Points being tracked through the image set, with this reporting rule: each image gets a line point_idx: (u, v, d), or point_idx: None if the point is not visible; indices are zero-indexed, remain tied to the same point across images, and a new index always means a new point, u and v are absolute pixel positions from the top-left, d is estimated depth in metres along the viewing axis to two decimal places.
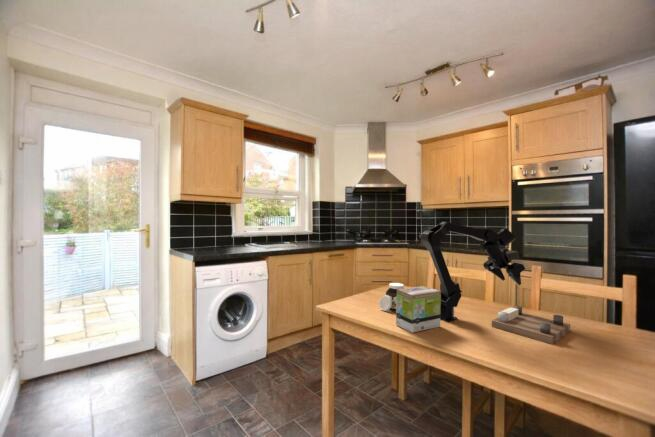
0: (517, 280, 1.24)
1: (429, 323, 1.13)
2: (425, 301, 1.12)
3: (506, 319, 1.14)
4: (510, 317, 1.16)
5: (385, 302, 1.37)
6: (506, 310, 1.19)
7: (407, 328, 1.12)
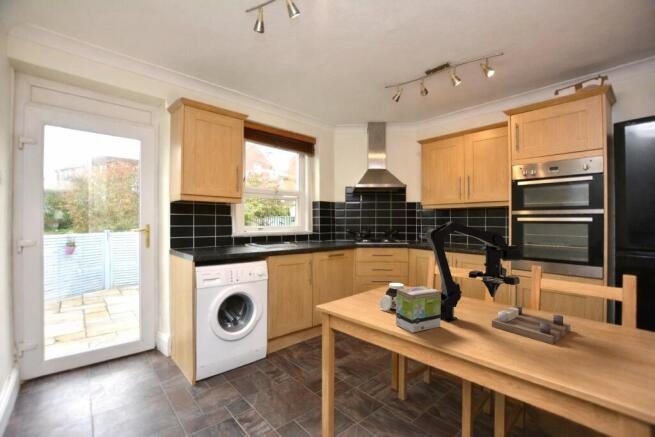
0: (495, 291, 1.24)
1: (429, 323, 1.13)
2: (425, 301, 1.12)
3: (506, 319, 1.14)
4: (510, 317, 1.16)
5: (385, 302, 1.37)
6: (506, 310, 1.19)
7: (407, 328, 1.12)
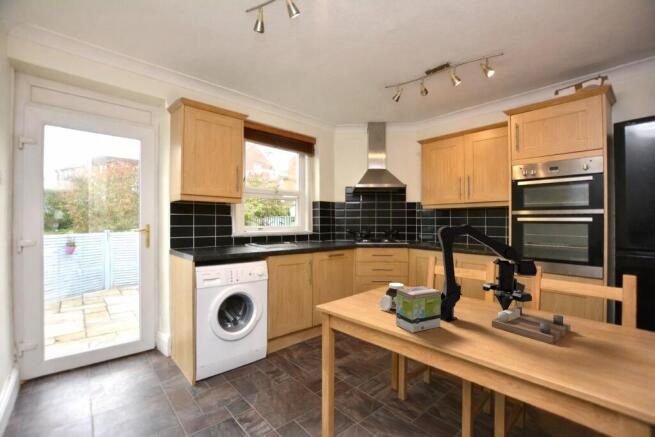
0: (506, 306, 1.20)
1: (429, 323, 1.13)
2: (425, 301, 1.12)
3: (506, 319, 1.14)
4: (510, 318, 1.16)
5: (385, 302, 1.37)
6: (507, 310, 1.19)
7: (407, 328, 1.12)
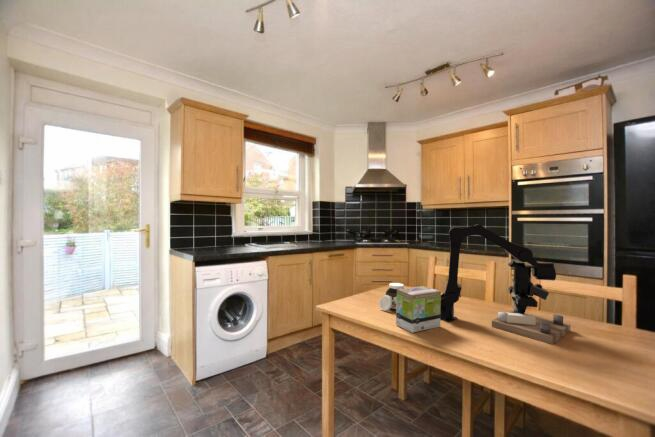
0: (519, 310, 1.15)
1: (429, 323, 1.13)
2: (425, 301, 1.12)
3: (501, 319, 1.14)
4: (512, 320, 1.13)
5: (385, 302, 1.37)
6: (516, 313, 1.15)
7: (407, 328, 1.12)
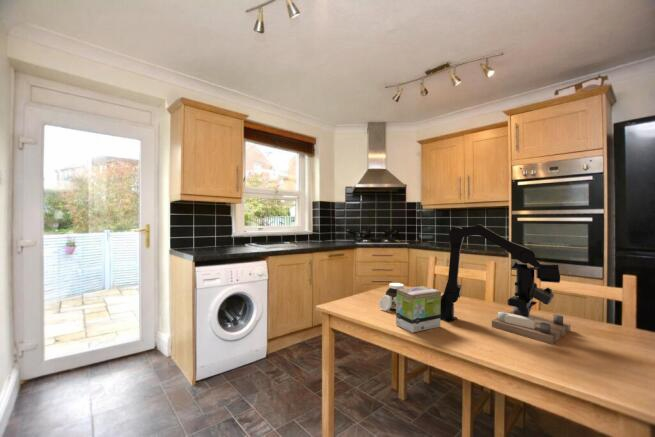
0: (522, 313, 1.12)
1: (429, 323, 1.13)
2: (425, 301, 1.12)
3: (499, 318, 1.15)
4: (510, 321, 1.12)
5: (385, 302, 1.37)
6: (517, 315, 1.13)
7: (407, 328, 1.12)
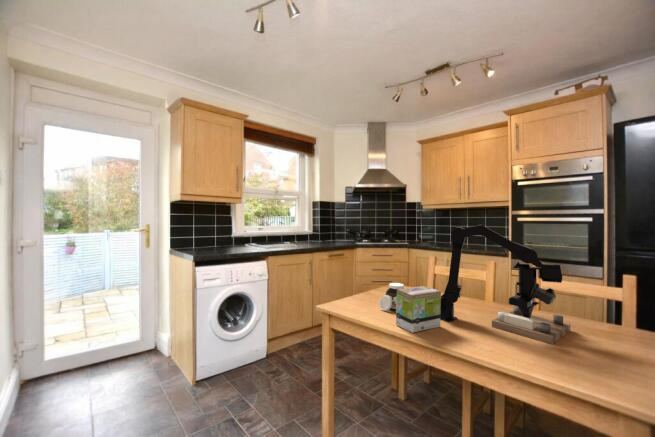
0: (523, 313, 1.12)
1: (429, 323, 1.13)
2: (425, 301, 1.12)
3: (499, 318, 1.15)
4: (509, 321, 1.12)
5: (385, 302, 1.37)
6: (517, 316, 1.12)
7: (407, 328, 1.12)
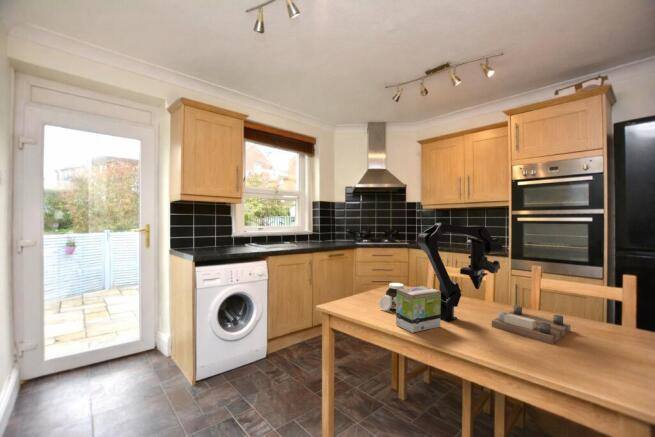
0: (474, 282, 1.29)
1: (429, 323, 1.13)
2: (425, 301, 1.12)
3: (499, 318, 1.15)
4: (509, 321, 1.12)
5: (385, 302, 1.37)
6: (517, 316, 1.12)
7: (407, 328, 1.12)
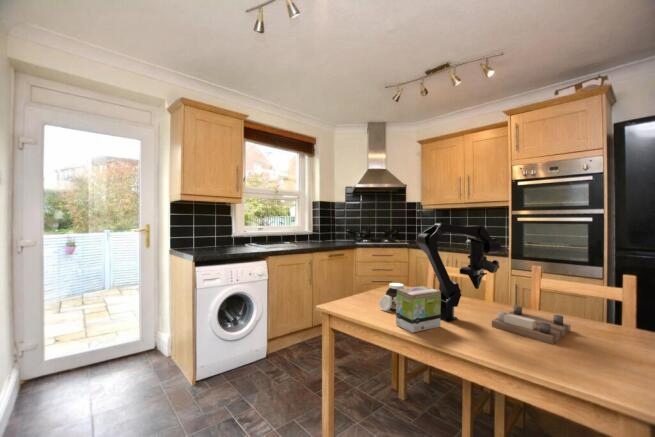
0: (473, 282, 1.29)
1: (429, 323, 1.13)
2: (425, 301, 1.12)
3: (499, 318, 1.15)
4: (509, 321, 1.12)
5: (385, 302, 1.37)
6: (517, 316, 1.12)
7: (407, 328, 1.12)
